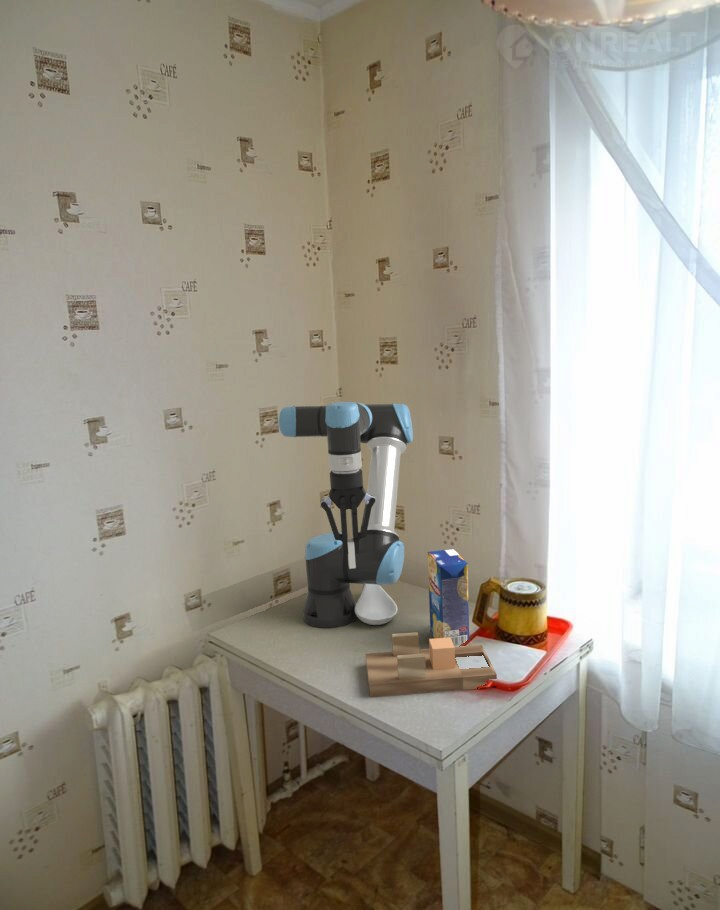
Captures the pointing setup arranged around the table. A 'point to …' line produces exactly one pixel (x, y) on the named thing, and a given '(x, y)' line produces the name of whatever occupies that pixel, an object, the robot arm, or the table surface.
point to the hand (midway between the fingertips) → (352, 566)
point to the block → (442, 653)
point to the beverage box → (448, 596)
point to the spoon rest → (375, 605)
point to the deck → (421, 669)
